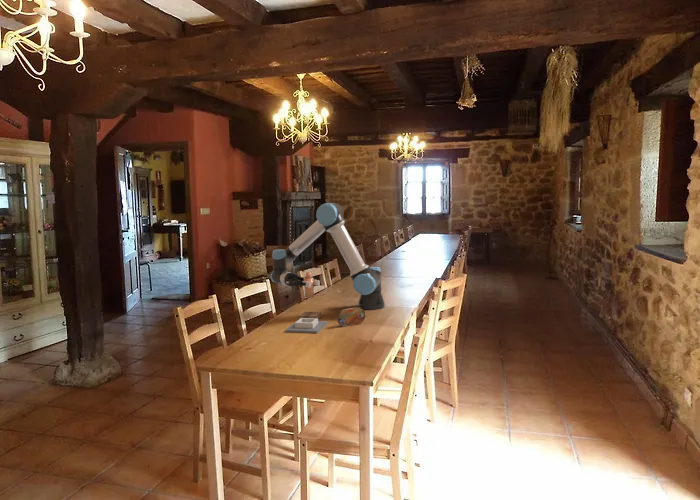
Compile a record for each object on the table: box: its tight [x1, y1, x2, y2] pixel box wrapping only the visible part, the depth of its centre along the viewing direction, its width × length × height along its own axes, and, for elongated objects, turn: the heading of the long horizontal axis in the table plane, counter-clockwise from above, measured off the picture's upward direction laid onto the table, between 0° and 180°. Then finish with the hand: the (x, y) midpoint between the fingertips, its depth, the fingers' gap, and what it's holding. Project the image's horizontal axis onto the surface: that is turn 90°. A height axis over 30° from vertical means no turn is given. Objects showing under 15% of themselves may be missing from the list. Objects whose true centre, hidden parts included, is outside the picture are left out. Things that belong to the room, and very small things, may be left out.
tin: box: [336, 307, 366, 328], centre depth 253 cm, size 15×3×8 cm, turn 117°
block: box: [299, 311, 322, 320], centre depth 267 cm, size 9×9×2 cm
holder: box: [284, 317, 328, 334], centre depth 250 cm, size 16×18×4 cm
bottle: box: [303, 271, 315, 299], centre depth 265 cm, size 5×5×13 cm
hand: (314, 284), depth 261 cm, fingers closed on bottle, 5 cm apart
